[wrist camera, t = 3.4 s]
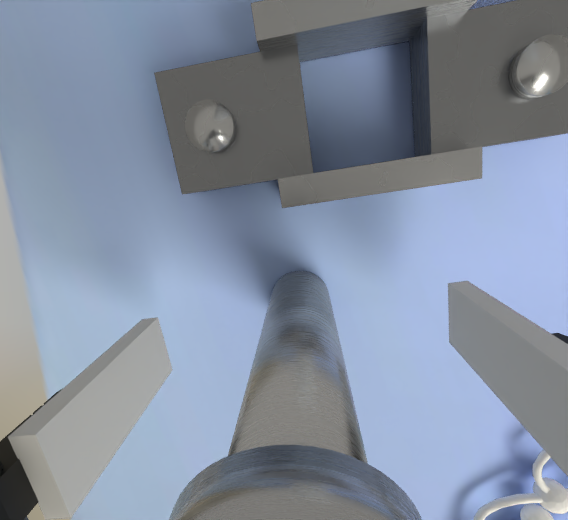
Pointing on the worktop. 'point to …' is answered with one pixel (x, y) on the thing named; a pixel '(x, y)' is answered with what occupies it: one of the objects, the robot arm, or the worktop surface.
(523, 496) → the tangled rod sculpture
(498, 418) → the worktop surface
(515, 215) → the worktop surface
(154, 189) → the worktop surface
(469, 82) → the bolted rod clamp
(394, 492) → the pin
